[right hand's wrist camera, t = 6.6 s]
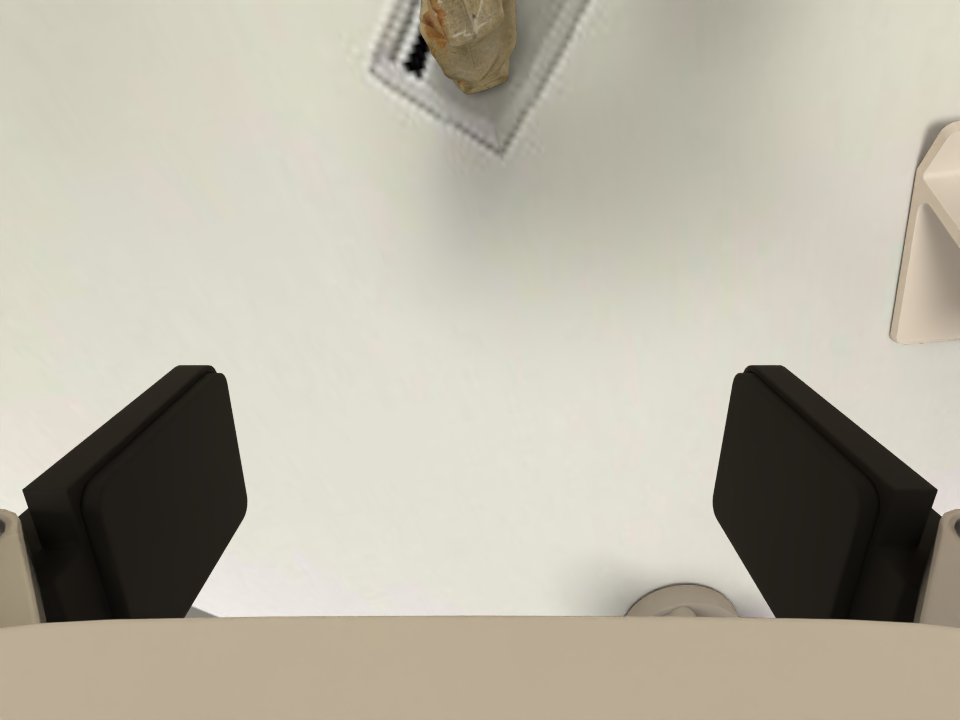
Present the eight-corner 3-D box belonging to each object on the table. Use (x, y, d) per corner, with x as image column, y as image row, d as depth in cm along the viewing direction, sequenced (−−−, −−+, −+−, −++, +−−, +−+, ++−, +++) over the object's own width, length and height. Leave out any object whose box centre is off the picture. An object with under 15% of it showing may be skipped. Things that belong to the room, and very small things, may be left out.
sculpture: (495, -29, 42) (503, -106, 28) (522, 79, 44) (541, 59, 30) (416, -2, 42) (385, -63, 28) (447, 104, 45) (433, 95, 31)
